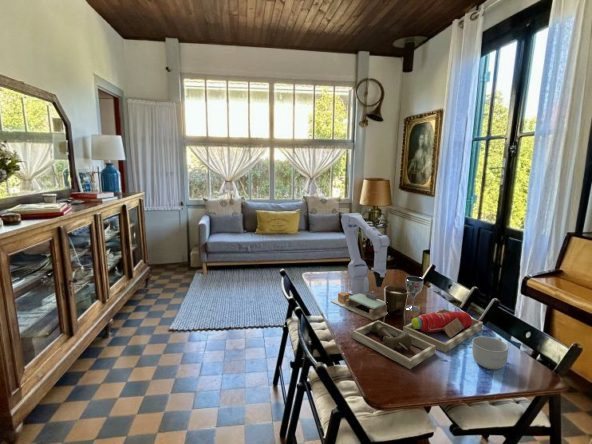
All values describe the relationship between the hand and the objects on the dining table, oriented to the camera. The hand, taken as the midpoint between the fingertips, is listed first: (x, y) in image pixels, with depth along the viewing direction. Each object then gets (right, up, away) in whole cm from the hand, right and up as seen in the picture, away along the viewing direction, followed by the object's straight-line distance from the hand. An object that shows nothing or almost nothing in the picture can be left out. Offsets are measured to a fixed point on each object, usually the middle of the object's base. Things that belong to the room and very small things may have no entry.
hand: (378, 286), depth 163 cm
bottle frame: (+21, -14, -25) cm, 35 cm away
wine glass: (+16, -10, -2) cm, 19 cm away
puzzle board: (-4, -10, -3) cm, 11 cm away
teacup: (+27, -18, -47) cm, 58 cm away
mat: (-17, -9, +4) cm, 19 cm away
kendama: (-4, -16, -35) cm, 39 cm away
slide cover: (-7, -6, -6) cm, 11 cm away
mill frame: (-4, -15, -37) cm, 40 cm away
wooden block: (-17, -8, +4) cm, 19 cm away
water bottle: (+20, -14, -26) cm, 35 cm away
